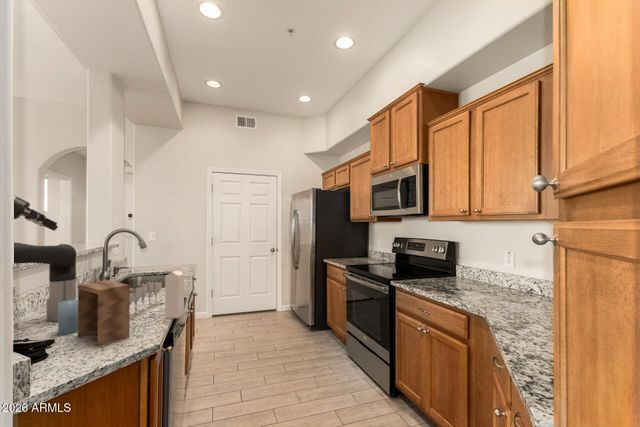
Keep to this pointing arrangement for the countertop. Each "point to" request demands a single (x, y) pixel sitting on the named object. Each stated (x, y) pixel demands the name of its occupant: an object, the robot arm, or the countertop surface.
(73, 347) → the countertop surface
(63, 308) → the grey-blue cylinder
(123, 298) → the open wooden box
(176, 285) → the milk
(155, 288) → the goblet set
